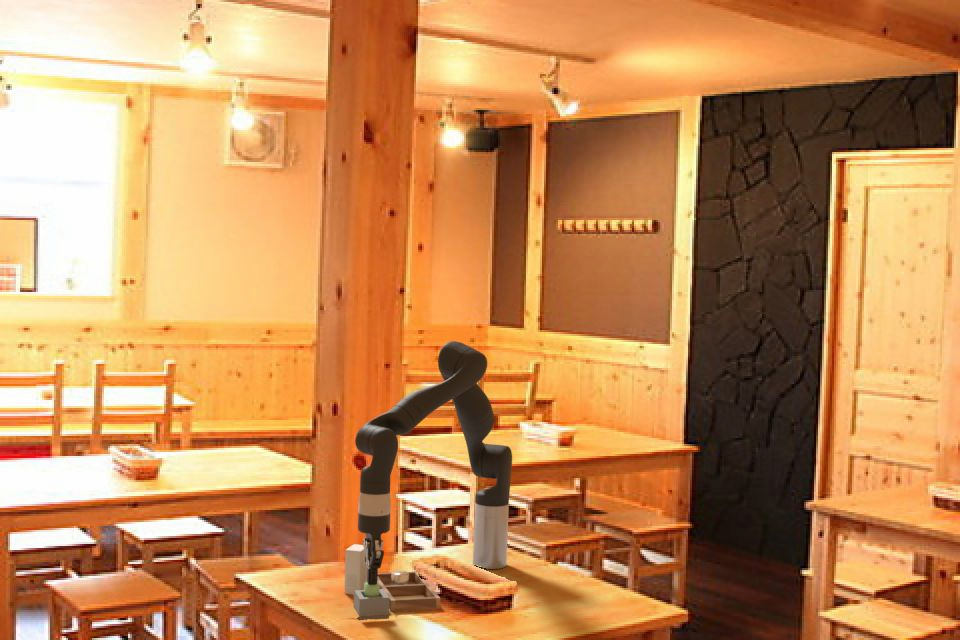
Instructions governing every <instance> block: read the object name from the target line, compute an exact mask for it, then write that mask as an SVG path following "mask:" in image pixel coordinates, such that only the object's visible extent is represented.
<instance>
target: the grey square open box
mask: <svg viewBox="0 0 960 640" xmlns="http://www.w3.org/2000/svg"><path fill="white" fill-rule="evenodd" d="M353 609H354V610H355V612H356V614H357V615H358V618H357V620H358V621H368V620H367V619H375V620H387V618H389V619H390V617H389V615H390V609H389V596H388V595H387V594H386V592H385V591H384V589H379V597H364V590H354V595H353ZM364 619H366V620H364Z"/></svg>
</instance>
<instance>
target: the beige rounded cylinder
mask: <svg viewBox="0 0 960 640" xmlns="http://www.w3.org/2000/svg"><path fill="white" fill-rule="evenodd" d="M408 572H409V571H406V570H395V571H392V572H390V573H391V585H409V573H408Z"/></svg>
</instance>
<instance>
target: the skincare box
mask: <svg viewBox="0 0 960 640" xmlns="http://www.w3.org/2000/svg"><path fill="white" fill-rule="evenodd" d="M344 552H345V558H344V559H345V561H344V562H345V563H344V564H345V565H344V594H345V595H346V594H347V595H353V596H354V590H364V583H365V582H367V568H368V567H367V566H366V563H365V555H364V546H363V544H358V543H357V544H356V543H354V544H352V545H350V546H349V547H348V548H347V549H345V551H344Z"/></svg>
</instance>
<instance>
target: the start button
mask: <svg viewBox="0 0 960 640" xmlns="http://www.w3.org/2000/svg"><path fill="white" fill-rule="evenodd" d="M379 588H380V583H378V582H377V584H376V585H369V584H368V583H367V582H365V583H364V597H379Z"/></svg>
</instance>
